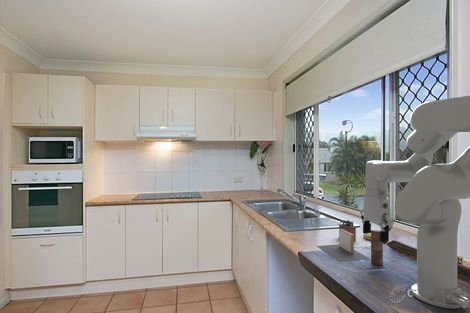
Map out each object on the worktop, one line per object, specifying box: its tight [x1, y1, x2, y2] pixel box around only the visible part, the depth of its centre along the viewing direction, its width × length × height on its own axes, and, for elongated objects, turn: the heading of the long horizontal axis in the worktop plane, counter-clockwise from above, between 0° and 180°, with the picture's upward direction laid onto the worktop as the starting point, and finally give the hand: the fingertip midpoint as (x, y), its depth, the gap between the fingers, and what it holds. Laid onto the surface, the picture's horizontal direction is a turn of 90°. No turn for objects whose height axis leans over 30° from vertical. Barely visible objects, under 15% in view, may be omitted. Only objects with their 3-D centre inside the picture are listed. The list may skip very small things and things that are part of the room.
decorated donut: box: [362, 233, 385, 244], centre depth 134 cm, size 10×11×4 cm
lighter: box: [338, 219, 357, 242], centre depth 134 cm, size 8×3×10 cm, turn 58°
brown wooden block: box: [370, 229, 384, 267], centre depth 103 cm, size 4×4×13 cm
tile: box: [338, 228, 355, 254], centre depth 118 cm, size 9×1×8 cm, turn 10°
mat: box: [316, 244, 371, 263], centre depth 116 cm, size 19×14×1 cm
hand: (375, 237), depth 104 cm, fingers open, 9 cm apart
